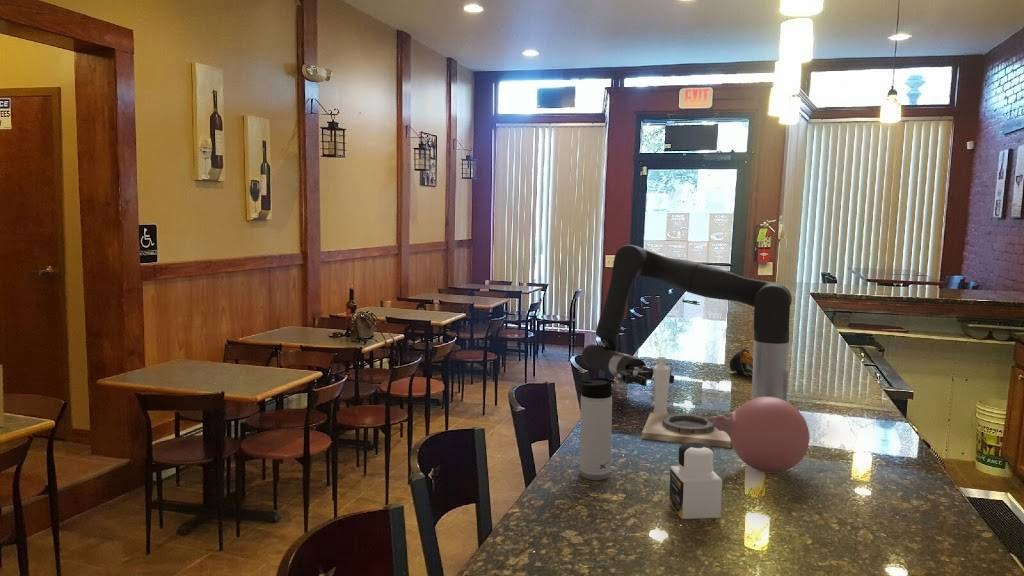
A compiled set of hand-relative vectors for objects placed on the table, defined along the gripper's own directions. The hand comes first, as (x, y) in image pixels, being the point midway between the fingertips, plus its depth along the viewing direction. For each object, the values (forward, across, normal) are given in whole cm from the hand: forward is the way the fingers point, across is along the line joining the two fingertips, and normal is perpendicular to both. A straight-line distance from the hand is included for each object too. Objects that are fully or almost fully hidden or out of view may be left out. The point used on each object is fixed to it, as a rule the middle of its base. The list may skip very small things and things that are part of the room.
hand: (659, 380), depth 183 cm
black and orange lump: (-22, +51, +9) cm, 56 cm away
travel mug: (+33, -37, +9) cm, 50 cm away
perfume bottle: (+1, 0, +9) cm, 9 cm away
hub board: (+17, -3, +8) cm, 19 cm away
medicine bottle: (+54, -29, +9) cm, 62 cm away
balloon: (+42, -4, +9) cm, 43 cm away
